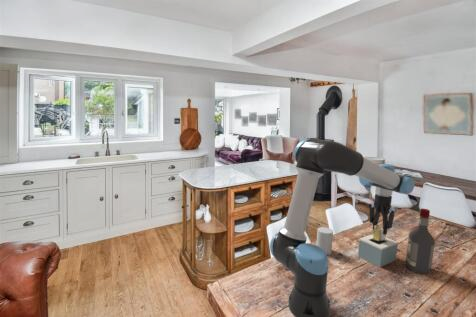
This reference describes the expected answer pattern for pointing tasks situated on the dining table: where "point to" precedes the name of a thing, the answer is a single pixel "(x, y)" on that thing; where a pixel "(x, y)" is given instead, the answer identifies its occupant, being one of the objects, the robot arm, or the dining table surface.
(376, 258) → the open-top box
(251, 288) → the dining table surface
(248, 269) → the dining table surface
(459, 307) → the dining table surface
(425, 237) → the liquor
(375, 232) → the block
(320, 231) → the cup
